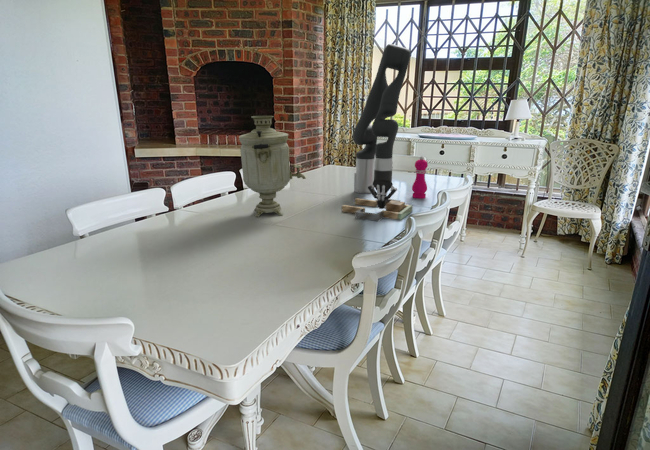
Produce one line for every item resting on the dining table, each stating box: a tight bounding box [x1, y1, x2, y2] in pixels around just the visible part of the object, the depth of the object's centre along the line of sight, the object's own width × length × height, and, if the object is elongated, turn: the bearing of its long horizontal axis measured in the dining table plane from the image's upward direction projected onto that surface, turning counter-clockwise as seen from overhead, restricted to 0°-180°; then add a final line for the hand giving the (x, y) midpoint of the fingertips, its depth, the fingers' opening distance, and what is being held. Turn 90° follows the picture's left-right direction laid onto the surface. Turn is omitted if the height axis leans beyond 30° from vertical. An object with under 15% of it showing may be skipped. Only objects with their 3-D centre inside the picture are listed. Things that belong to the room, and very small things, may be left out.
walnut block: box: [385, 200, 406, 213], centre depth 178 cm, size 6×6×5 cm
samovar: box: [238, 115, 307, 218], centre depth 173 cm, size 30×26×40 cm
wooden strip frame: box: [341, 197, 413, 222], centre depth 182 cm, size 26×27×2 cm
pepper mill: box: [411, 155, 429, 200], centre depth 203 cm, size 7×7×20 cm
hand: (381, 208), depth 182 cm, fingers closed
